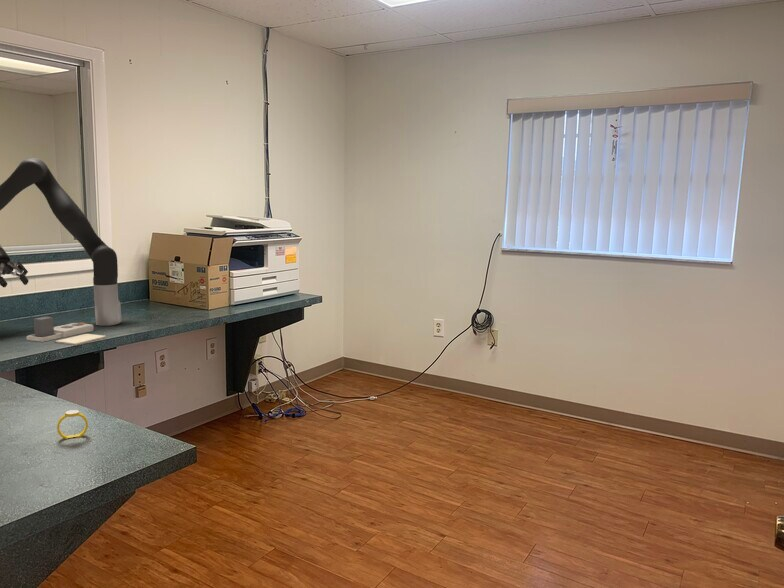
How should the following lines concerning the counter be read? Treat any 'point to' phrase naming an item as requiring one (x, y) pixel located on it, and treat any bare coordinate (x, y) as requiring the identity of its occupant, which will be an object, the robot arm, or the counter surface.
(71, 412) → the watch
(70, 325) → the power strip
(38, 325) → the plug
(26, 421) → the counter surface
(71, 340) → the rubber mat
